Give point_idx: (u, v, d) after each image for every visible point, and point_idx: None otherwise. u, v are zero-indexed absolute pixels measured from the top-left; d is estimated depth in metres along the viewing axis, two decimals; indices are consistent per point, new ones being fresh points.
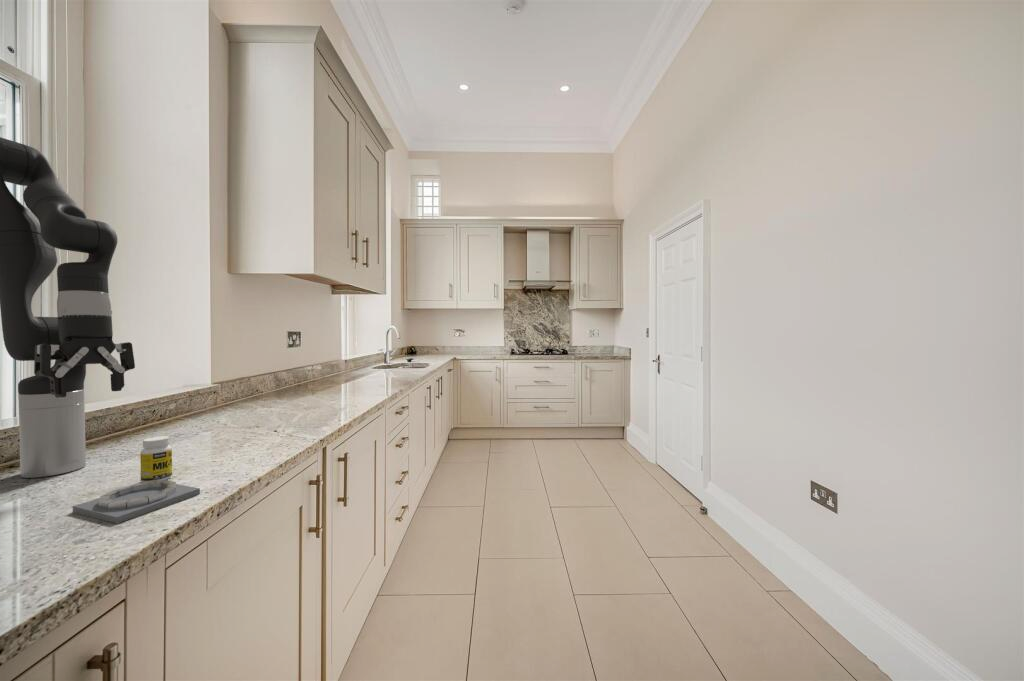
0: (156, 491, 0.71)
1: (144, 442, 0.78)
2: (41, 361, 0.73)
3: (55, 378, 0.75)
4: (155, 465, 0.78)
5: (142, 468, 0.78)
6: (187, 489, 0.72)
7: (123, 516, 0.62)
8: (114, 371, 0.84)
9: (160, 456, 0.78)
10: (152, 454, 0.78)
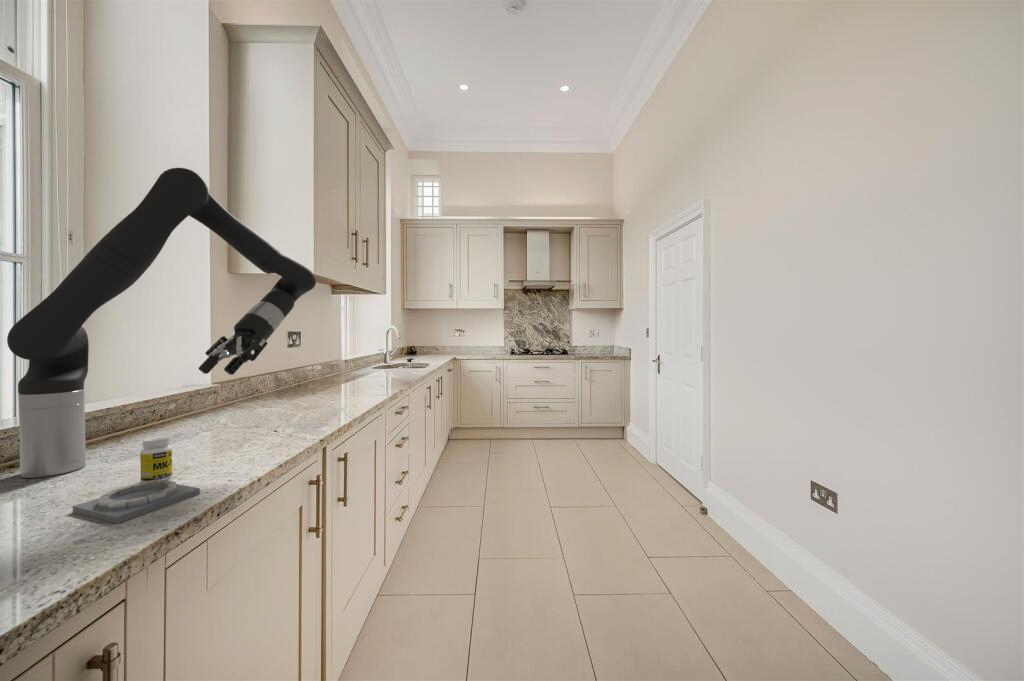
0: (156, 491, 0.71)
1: (144, 442, 0.78)
2: (260, 352, 0.93)
3: None
4: (154, 465, 0.78)
5: (142, 468, 0.78)
6: (187, 489, 0.72)
7: (123, 516, 0.62)
8: (215, 357, 0.94)
9: (160, 456, 0.78)
10: (152, 454, 0.78)
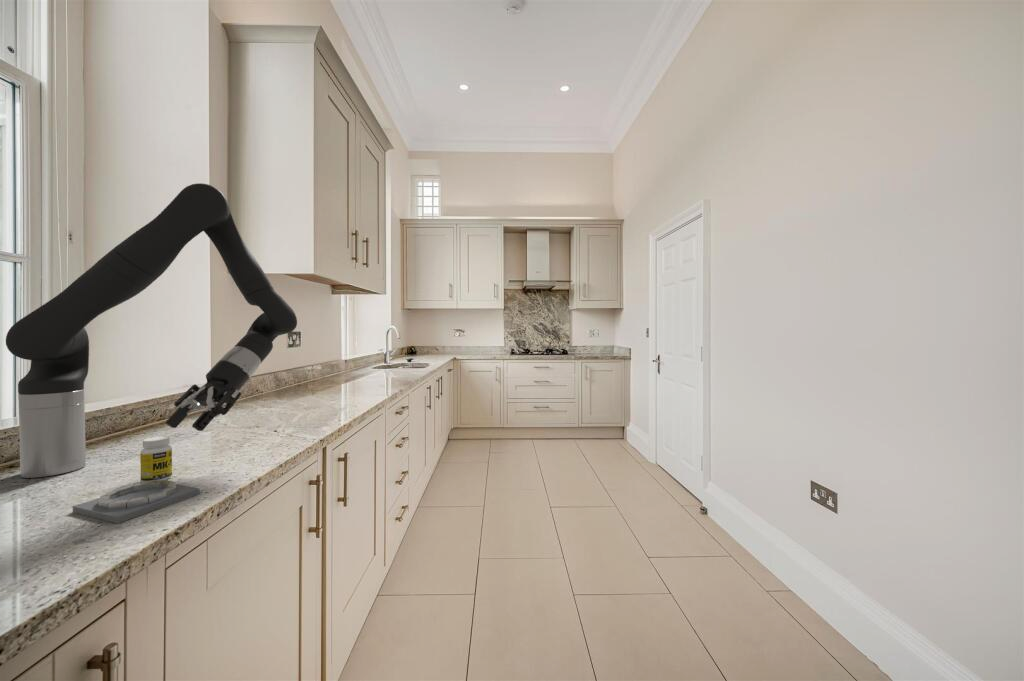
0: (156, 491, 0.71)
1: (144, 442, 0.78)
2: (232, 404, 0.87)
3: None
4: (154, 465, 0.78)
5: (142, 468, 0.78)
6: (187, 489, 0.72)
7: (123, 516, 0.62)
8: (185, 409, 0.88)
9: (160, 456, 0.78)
10: (152, 454, 0.78)
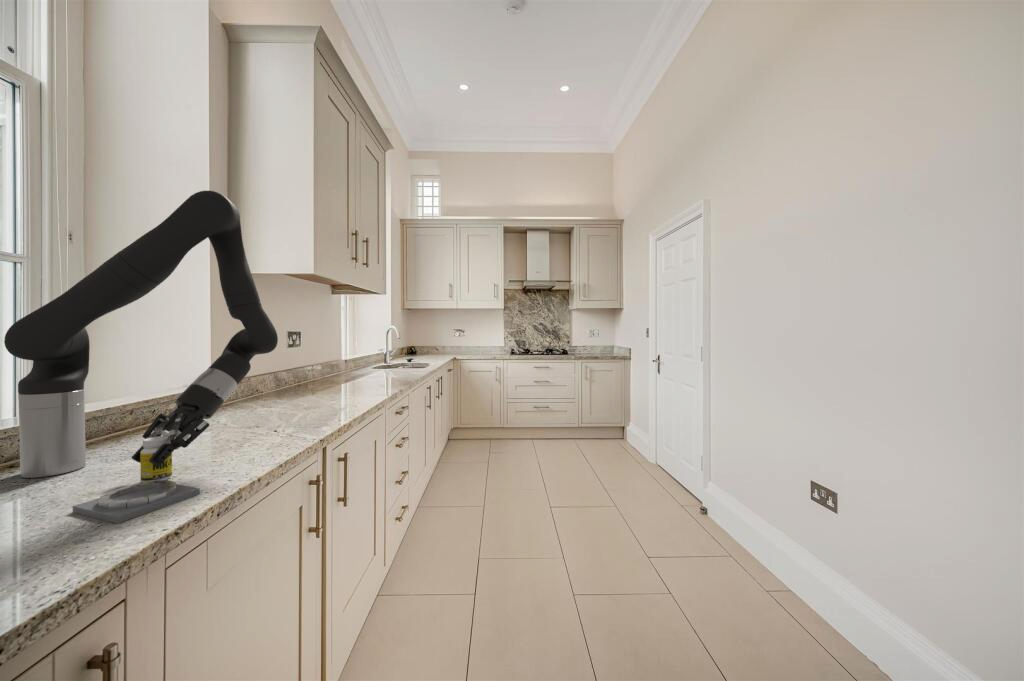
0: (156, 491, 0.71)
1: (144, 442, 0.78)
2: (195, 437, 0.81)
3: None
4: None
5: (142, 468, 0.78)
6: (187, 489, 0.72)
7: (123, 516, 0.62)
8: None
9: None
10: (152, 454, 0.78)
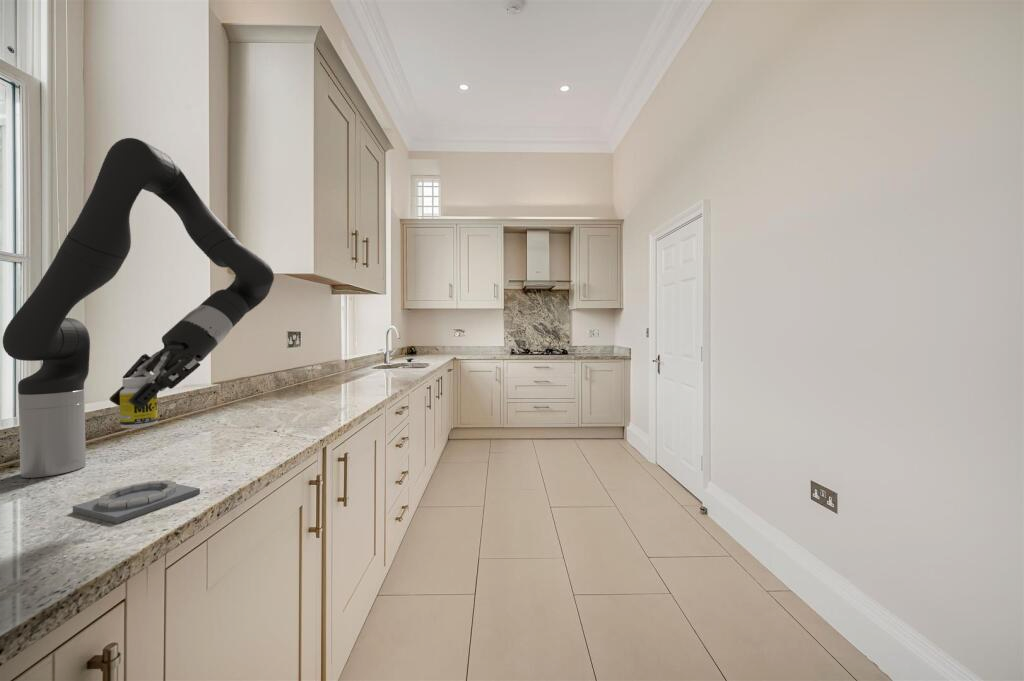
0: (156, 491, 0.71)
1: (124, 380, 0.67)
2: (184, 377, 0.70)
3: None
4: None
5: (122, 410, 0.67)
6: (187, 489, 0.72)
7: (123, 516, 0.62)
8: None
9: None
10: (133, 394, 0.67)
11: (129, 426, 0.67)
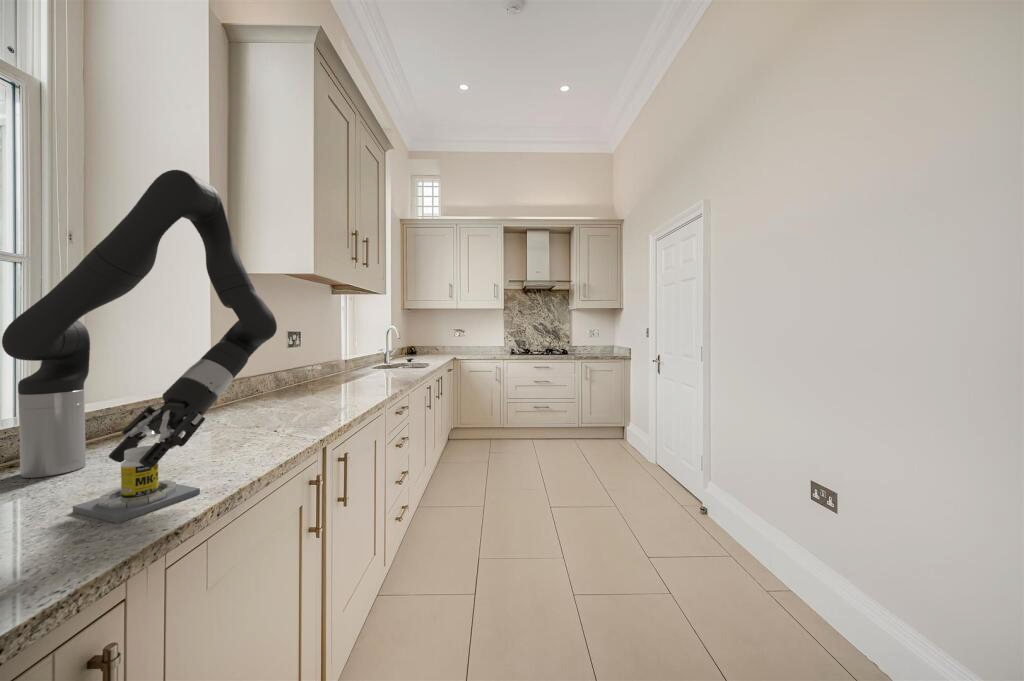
0: None
1: (125, 453, 0.67)
2: (193, 433, 0.71)
3: None
4: (137, 479, 0.67)
5: (123, 483, 0.67)
6: (187, 489, 0.72)
7: (123, 516, 0.62)
8: (135, 438, 0.72)
9: (143, 469, 0.68)
10: (135, 467, 0.67)
11: None
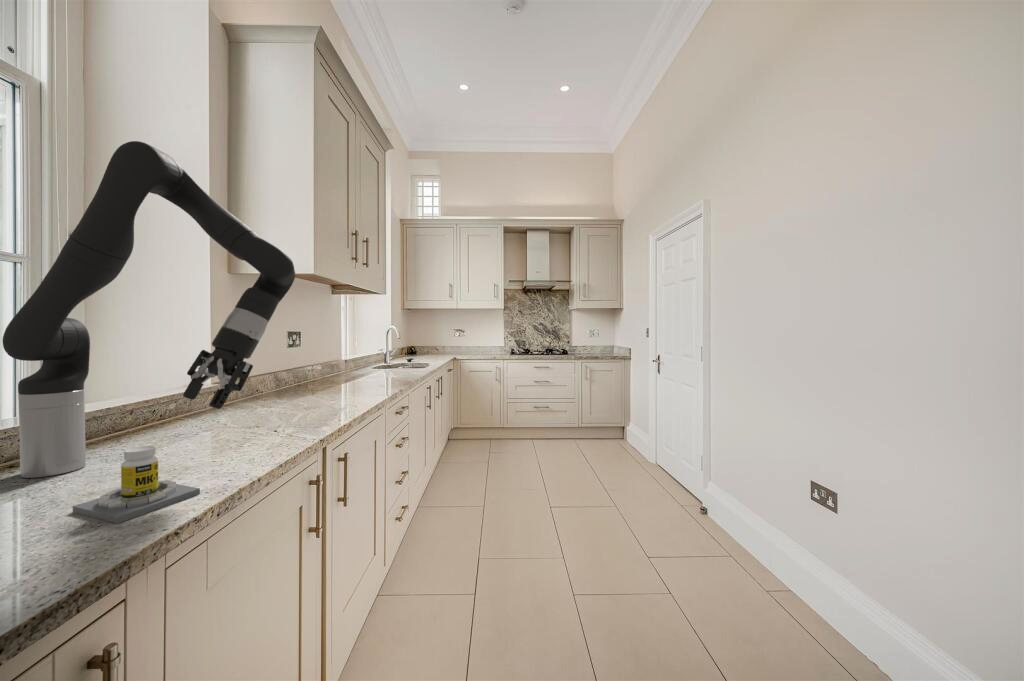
0: None
1: (125, 453, 0.67)
2: (246, 379, 0.82)
3: None
4: (137, 479, 0.67)
5: (123, 483, 0.67)
6: (187, 489, 0.72)
7: (123, 516, 0.62)
8: (199, 379, 0.84)
9: (143, 469, 0.68)
10: (135, 467, 0.67)
11: None
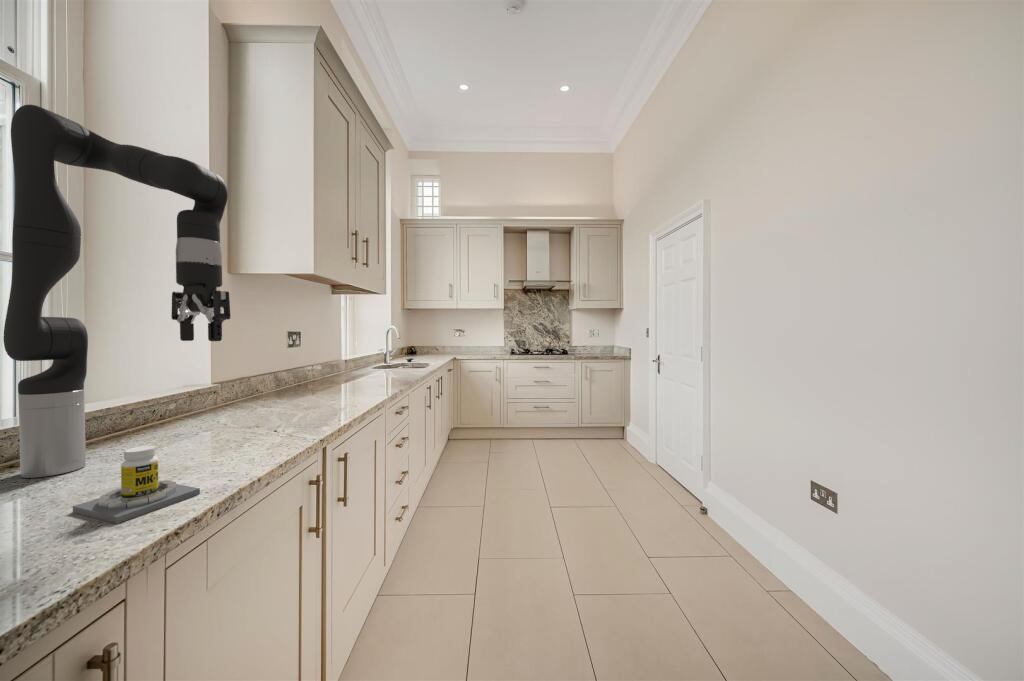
0: None
1: (125, 453, 0.67)
2: (229, 306, 0.81)
3: None
4: (137, 479, 0.67)
5: (123, 483, 0.67)
6: (187, 489, 0.72)
7: (123, 516, 0.62)
8: (187, 320, 0.83)
9: (143, 469, 0.68)
10: (135, 467, 0.67)
11: None
